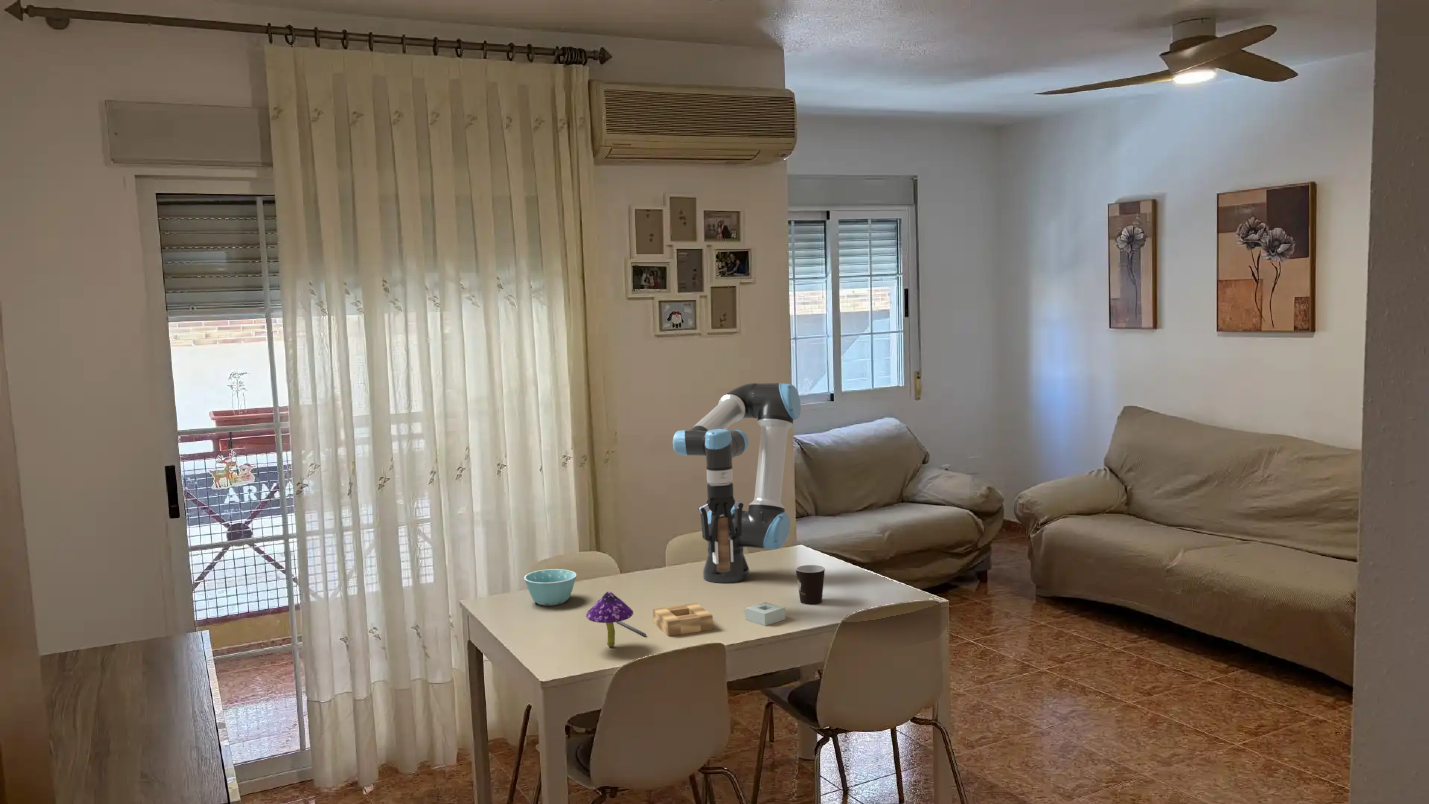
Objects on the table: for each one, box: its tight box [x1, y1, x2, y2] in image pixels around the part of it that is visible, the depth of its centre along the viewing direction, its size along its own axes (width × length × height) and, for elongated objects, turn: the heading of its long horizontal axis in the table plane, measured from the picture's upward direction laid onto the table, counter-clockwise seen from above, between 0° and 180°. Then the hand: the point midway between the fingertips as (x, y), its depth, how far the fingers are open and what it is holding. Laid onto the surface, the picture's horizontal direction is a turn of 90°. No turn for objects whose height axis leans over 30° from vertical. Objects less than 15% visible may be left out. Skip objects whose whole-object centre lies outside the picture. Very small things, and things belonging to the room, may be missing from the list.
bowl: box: [523, 568, 578, 607], centre depth 326 cm, size 16×16×8 cm
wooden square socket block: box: [652, 602, 714, 637], centre depth 298 cm, size 13×13×4 cm
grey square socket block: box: [744, 601, 786, 627], centre depth 302 cm, size 8×8×3 cm
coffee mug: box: [795, 564, 826, 606], centre depth 319 cm, size 12×9×10 cm
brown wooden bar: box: [715, 515, 730, 573], centre depth 311 cm, size 4×4×16 cm
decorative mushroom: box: [585, 591, 634, 648], centre depth 282 cm, size 12×12×15 cm
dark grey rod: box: [616, 621, 647, 637], centre depth 297 cm, size 17×1×1 cm, turn 33°
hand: (723, 561), depth 312 cm, fingers closed on brown wooden bar, 4 cm apart
